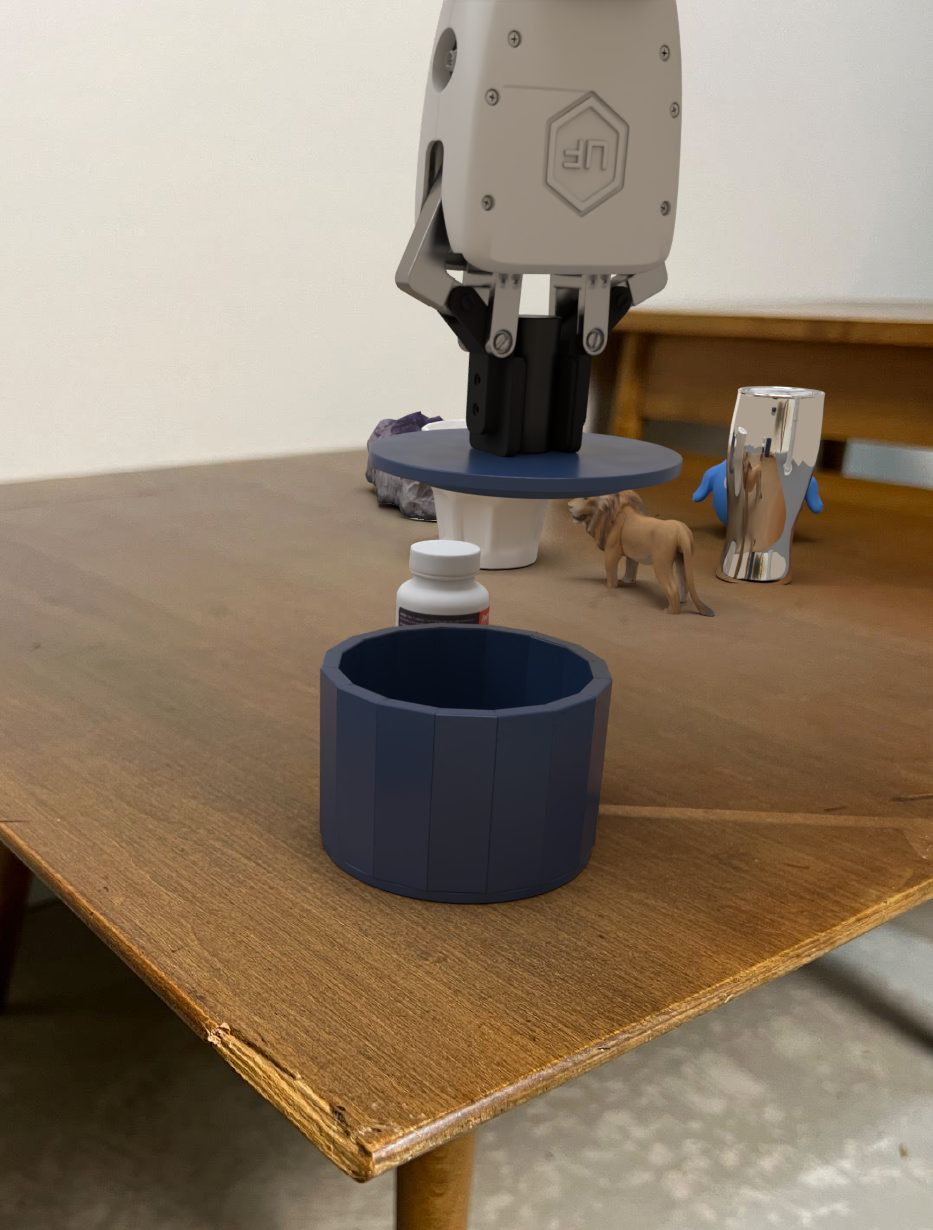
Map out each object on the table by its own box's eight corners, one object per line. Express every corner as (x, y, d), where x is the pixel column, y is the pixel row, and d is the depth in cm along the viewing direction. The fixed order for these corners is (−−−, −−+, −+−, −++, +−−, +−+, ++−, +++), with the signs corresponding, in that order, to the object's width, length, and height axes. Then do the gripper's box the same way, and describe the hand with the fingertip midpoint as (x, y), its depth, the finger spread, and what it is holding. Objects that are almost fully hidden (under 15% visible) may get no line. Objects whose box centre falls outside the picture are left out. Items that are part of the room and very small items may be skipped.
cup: (448, 536, 114) (454, 414, 110) (577, 551, 110) (588, 424, 105) (394, 564, 104) (398, 432, 100) (533, 582, 99) (544, 443, 95)
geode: (505, 522, 121) (499, 419, 116) (390, 539, 120) (379, 437, 116) (464, 476, 139) (457, 386, 134) (364, 491, 138) (354, 401, 134)
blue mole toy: (672, 544, 113) (684, 451, 109) (697, 520, 122) (708, 434, 119) (808, 559, 108) (824, 462, 105) (822, 532, 118) (838, 443, 114)
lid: (655, 457, 59) (672, 310, 57) (705, 514, 47) (730, 330, 44) (378, 449, 60) (382, 304, 58) (355, 502, 48) (359, 322, 45)
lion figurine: (551, 583, 99) (561, 471, 96) (599, 575, 102) (610, 465, 98) (688, 628, 88) (704, 503, 84) (738, 617, 91) (756, 496, 87)
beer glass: (783, 592, 97) (815, 398, 91) (698, 579, 101) (723, 391, 95) (806, 575, 103) (837, 390, 97) (724, 563, 106) (750, 383, 100)
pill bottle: (493, 722, 71) (504, 557, 67) (403, 727, 70) (408, 559, 66) (470, 690, 75) (479, 535, 71) (385, 694, 75) (389, 537, 71)
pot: (578, 787, 62) (593, 627, 59) (606, 911, 51) (628, 721, 47) (333, 776, 63) (335, 618, 60) (307, 896, 52) (307, 709, 48)
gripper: (418, -99, 39) (399, 475, 47) (796, -46, 46) (726, 453, 53) (324, -55, 46) (321, 446, 53) (668, -14, 52) (622, 429, 59)
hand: (524, 446), depth 53 cm, fingers closed on lid, 2 cm apart
